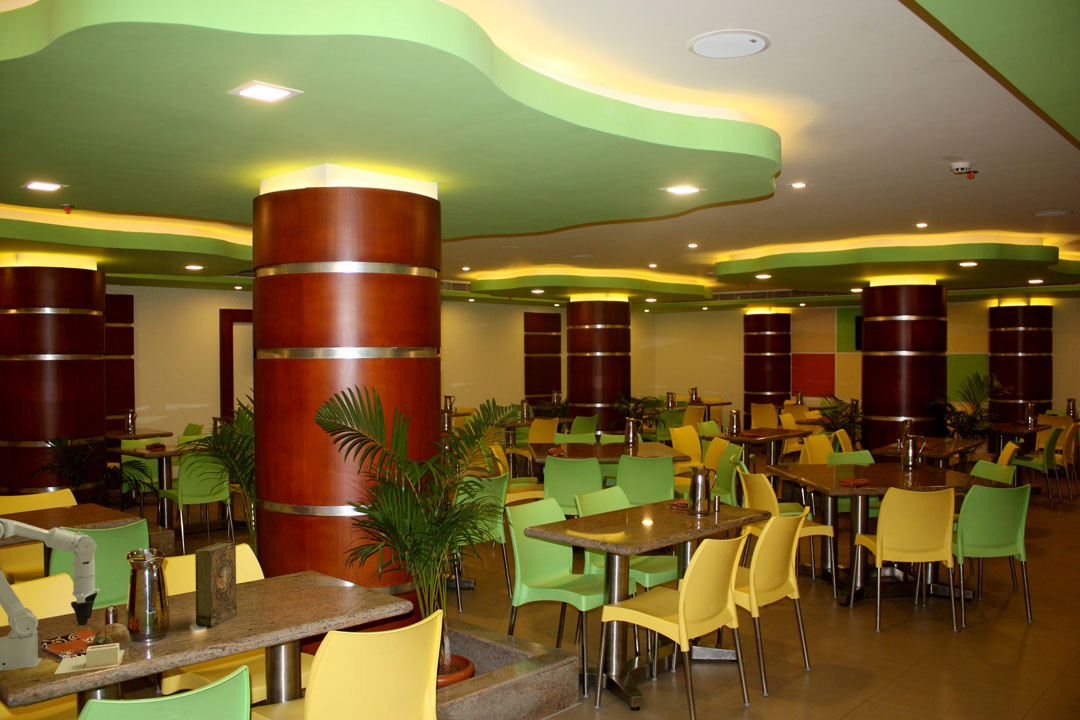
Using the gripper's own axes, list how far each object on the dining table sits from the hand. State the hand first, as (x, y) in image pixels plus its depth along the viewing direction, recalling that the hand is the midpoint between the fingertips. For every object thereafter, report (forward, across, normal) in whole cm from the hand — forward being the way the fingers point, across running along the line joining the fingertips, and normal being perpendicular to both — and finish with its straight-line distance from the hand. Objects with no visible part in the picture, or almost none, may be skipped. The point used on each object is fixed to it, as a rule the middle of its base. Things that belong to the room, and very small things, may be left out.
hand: (84, 621), depth 254 cm
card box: (+9, -14, -6) cm, 18 cm away
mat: (+9, -11, -3) cm, 15 cm away
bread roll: (+10, +8, -6) cm, 14 cm away
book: (+10, +21, -37) cm, 44 cm away
